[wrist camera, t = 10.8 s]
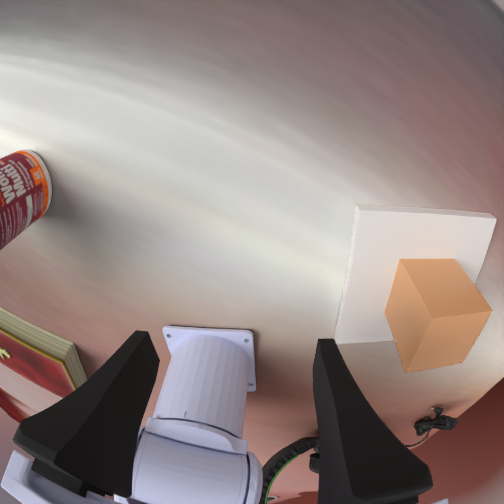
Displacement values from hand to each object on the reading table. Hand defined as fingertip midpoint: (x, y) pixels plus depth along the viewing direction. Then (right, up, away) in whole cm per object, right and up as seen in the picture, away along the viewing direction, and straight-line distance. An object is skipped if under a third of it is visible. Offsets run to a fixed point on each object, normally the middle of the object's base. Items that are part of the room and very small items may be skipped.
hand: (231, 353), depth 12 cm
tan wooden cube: (+14, +2, +8) cm, 16 cm away
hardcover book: (-31, -9, +20) cm, 38 cm away
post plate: (+14, +2, +9) cm, 16 cm away
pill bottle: (-18, +10, +7) cm, 21 cm away
